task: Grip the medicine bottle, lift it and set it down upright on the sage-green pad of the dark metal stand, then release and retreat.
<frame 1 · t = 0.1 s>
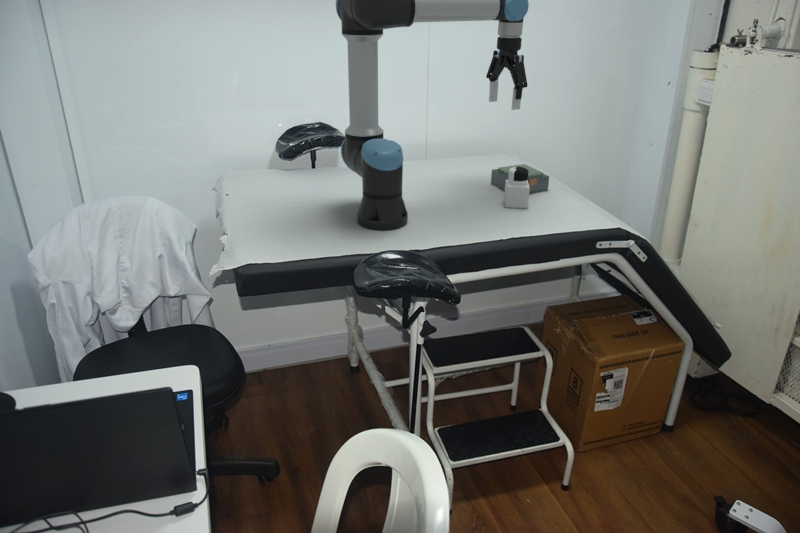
hand: (504, 105, 201), 28 cm above the table, fingers open, 13 cm apart
stand: (518, 186, 213), on the table
medicine bottle: (515, 204, 198), on the table
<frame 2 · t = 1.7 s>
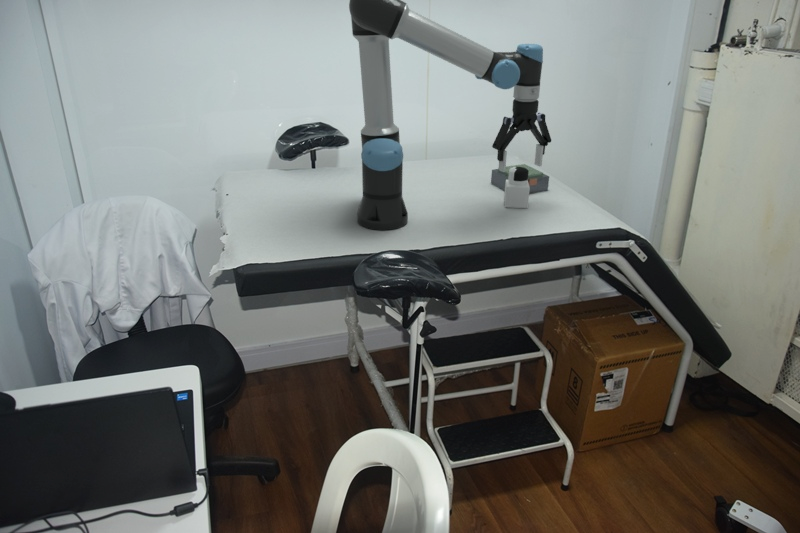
hand: (520, 168, 192), 12 cm above the table, fingers open, 13 cm apart
nothing on the table moved.
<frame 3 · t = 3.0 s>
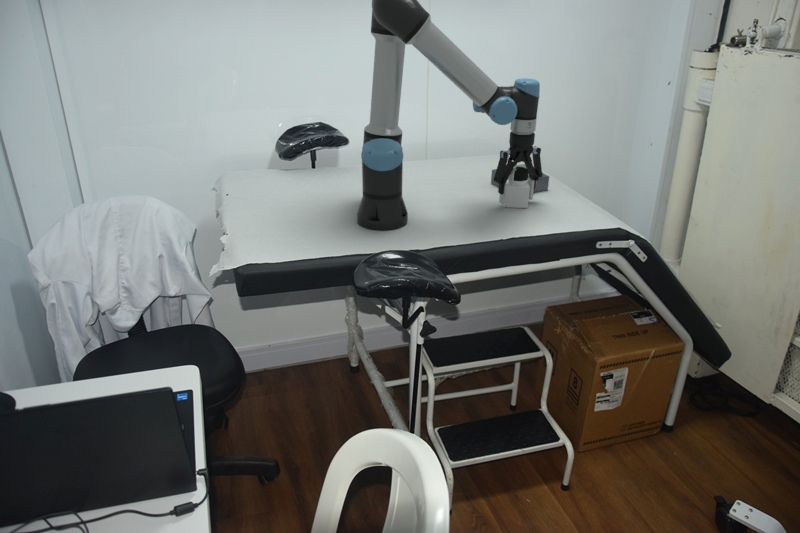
hand: (515, 200, 197), 1 cm above the table, fingers closed on medicine bottle, 9 cm apart
medicine bottle: (515, 204, 198), on the table, touching gripper
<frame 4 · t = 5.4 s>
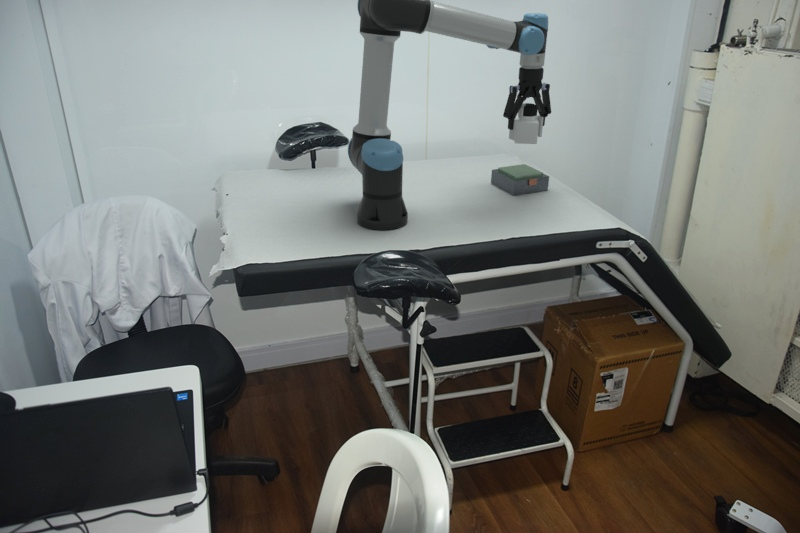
hand: (525, 137, 202), 18 cm above the table, fingers closed on medicine bottle, 9 cm apart
medicine bottle: (524, 141, 202), point 17 cm above the table, touching gripper
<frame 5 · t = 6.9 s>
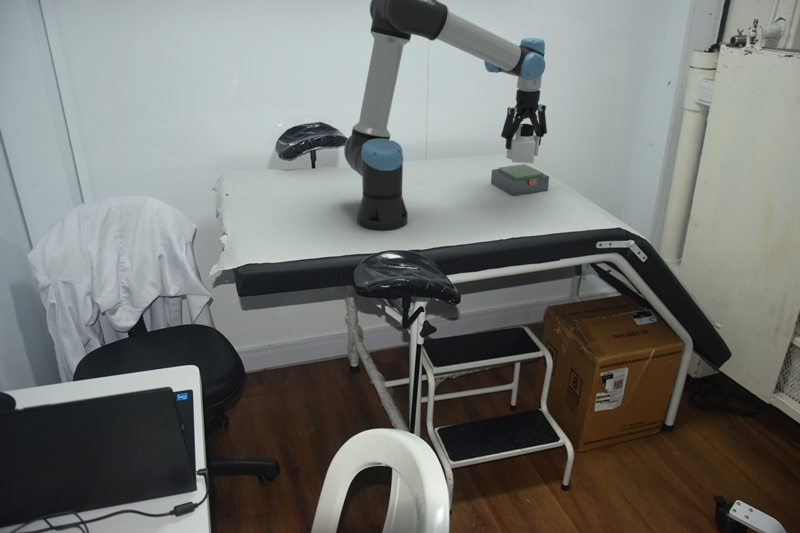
hand: (522, 156, 208), 11 cm above the table, fingers closed on medicine bottle, 9 cm apart
medicine bottle: (521, 160, 209), point 9 cm above the table, touching gripper
when the fingers open (9 cm above the table, at t = 7.9 s): medicine bottle drops 1 cm, resting on stand.
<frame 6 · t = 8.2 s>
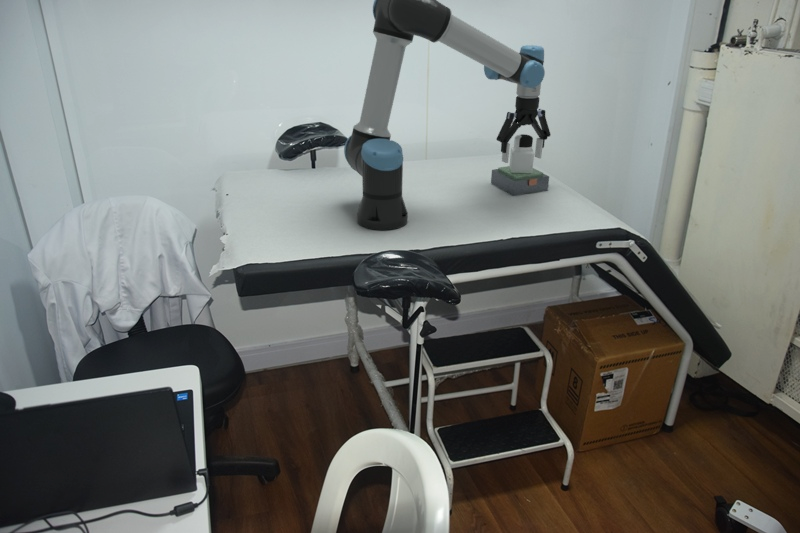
hand: (521, 159, 209), 10 cm above the table, fingers open, 13 cm apart
medicine bottle: (520, 170, 211), point 6 cm above the table, touching stand
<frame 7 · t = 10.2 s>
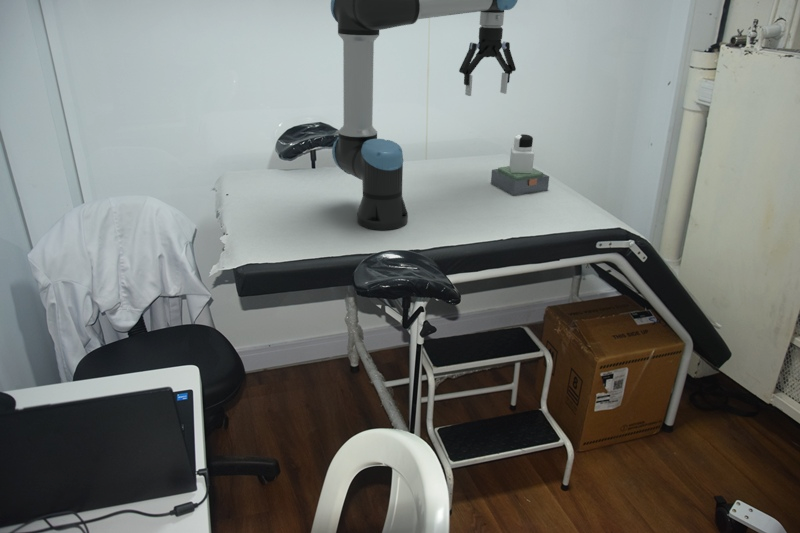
hand: (485, 94, 206), 30 cm above the table, fingers open, 13 cm apart
nothing on the table moved.
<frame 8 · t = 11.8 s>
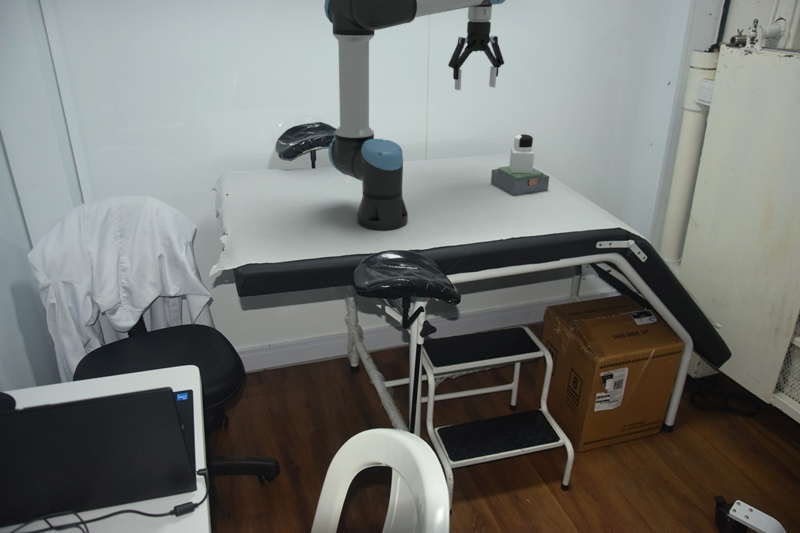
hand: (475, 88, 207), 32 cm above the table, fingers open, 13 cm apart
nothing on the table moved.
at the end: medicine bottle inside the target area on the stand (0.1 cm from its centre), point 5.8 cm above the stand's base; medicine bottle tilted 0°; the gripper is holding nothing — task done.
